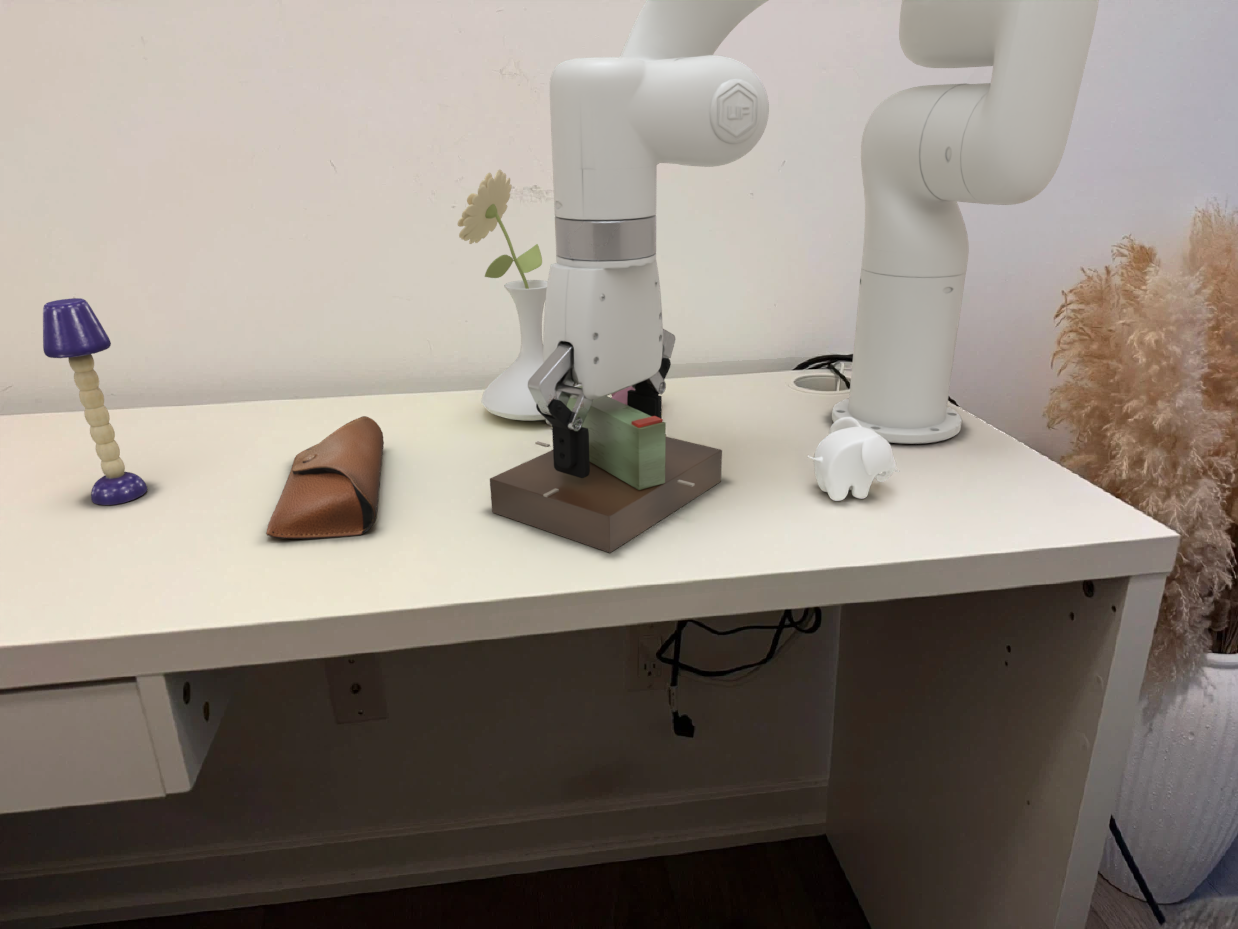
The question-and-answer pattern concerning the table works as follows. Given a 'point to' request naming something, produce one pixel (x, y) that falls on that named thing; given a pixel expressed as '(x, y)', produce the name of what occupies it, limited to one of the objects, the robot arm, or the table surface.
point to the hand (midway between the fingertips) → (609, 454)
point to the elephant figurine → (852, 459)
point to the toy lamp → (90, 391)
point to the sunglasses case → (332, 486)
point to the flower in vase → (511, 385)
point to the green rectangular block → (625, 442)
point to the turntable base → (602, 495)
